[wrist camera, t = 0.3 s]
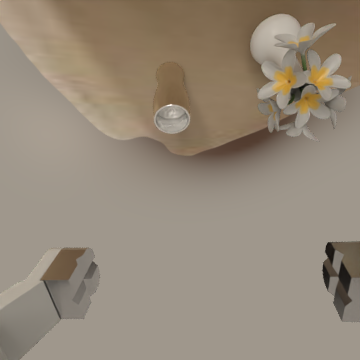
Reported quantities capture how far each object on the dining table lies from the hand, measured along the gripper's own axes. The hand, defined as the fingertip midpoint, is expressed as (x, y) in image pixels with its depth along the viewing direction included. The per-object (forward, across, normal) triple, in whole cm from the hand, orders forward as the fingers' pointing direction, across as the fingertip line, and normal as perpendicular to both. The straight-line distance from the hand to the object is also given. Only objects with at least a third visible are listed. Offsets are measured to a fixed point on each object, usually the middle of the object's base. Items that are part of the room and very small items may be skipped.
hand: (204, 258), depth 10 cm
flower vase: (+55, -12, -6) cm, 57 cm away
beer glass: (+56, +8, 0) cm, 57 cm away
